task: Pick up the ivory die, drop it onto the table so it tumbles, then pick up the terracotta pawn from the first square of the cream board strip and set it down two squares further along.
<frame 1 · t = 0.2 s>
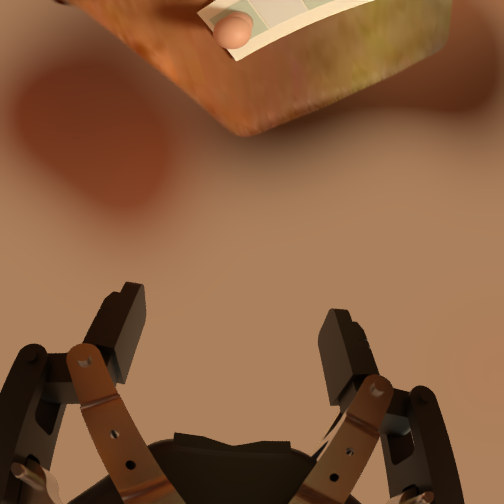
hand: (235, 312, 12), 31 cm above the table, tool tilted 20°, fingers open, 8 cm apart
pawn: (238, 23, 25), point 1 cm above the table, touching board
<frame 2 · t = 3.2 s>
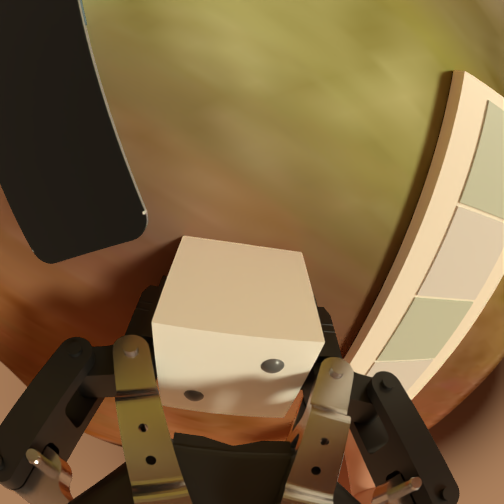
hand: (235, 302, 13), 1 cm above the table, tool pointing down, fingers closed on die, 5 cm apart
smartphone: (38, 101, 9), on the table
board: (421, 322, 15), on the table
pawn: (358, 418, 19), point 1 cm above the table, touching board
die: (234, 290, 14), on the table, touching gripper
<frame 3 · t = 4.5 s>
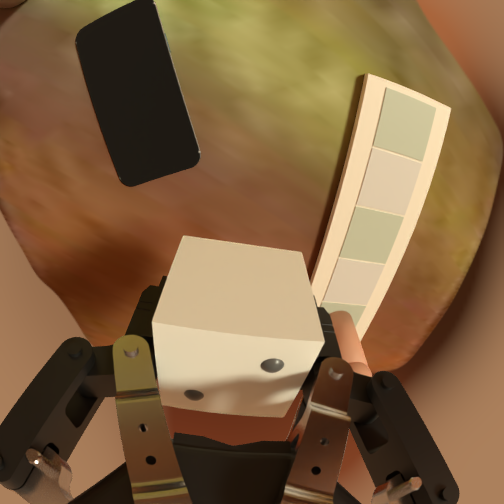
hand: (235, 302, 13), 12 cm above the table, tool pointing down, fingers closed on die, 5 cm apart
smartphone: (135, 90, 19), on the table
board: (368, 232, 25), on the table
pawn: (337, 322, 29), point 1 cm above the table, touching board
die: (234, 290, 14), point 12 cm above the table, touching gripper
when the fingers open (8 cm above the table, at t = 5.6 s): die drops 8 cm, on the table.
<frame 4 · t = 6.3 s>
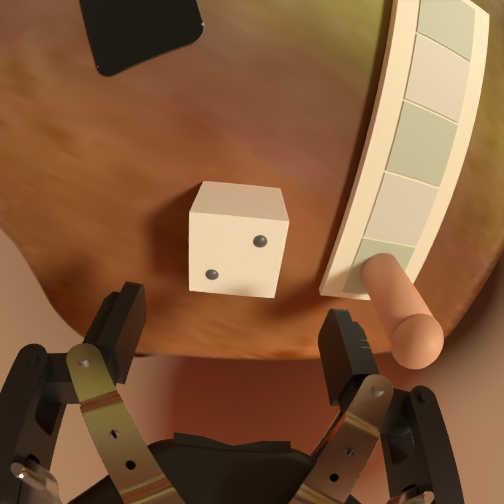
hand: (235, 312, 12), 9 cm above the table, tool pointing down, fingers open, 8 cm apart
board: (418, 143, 17), on the table
pawn: (379, 270, 21), point 1 cm above the table, touching board
die: (238, 218, 20), on the table
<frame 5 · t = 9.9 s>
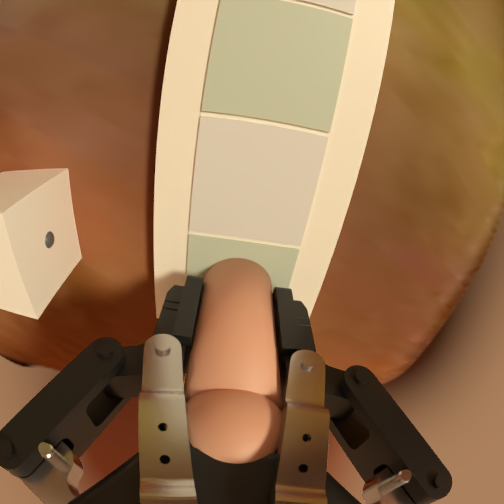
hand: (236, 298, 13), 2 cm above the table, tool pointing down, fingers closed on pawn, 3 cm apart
board: (276, 60, 10), on the table
pawn: (237, 286, 14), point 1 cm above the table, touching board, gripper
die: (39, 213, 13), on the table
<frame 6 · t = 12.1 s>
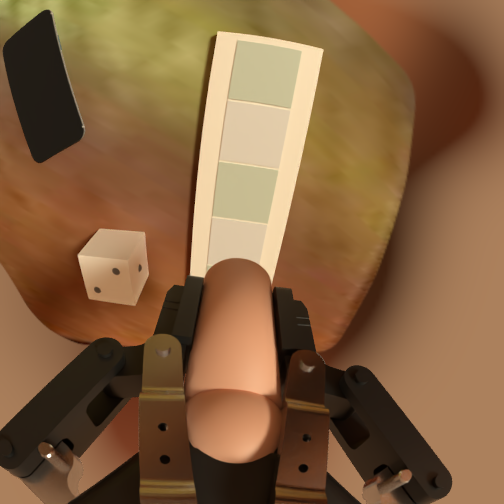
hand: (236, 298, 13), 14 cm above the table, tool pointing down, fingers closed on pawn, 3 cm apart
smartphone: (41, 84, 19), on the table
board: (244, 190, 25), on the table
pawn: (237, 286, 14), point 13 cm above the table, touching gripper
die: (124, 251, 28), on the table
when the fingers open (3 cm above the table, at t = 14.4 s): pawn stays where it is, resting on board.
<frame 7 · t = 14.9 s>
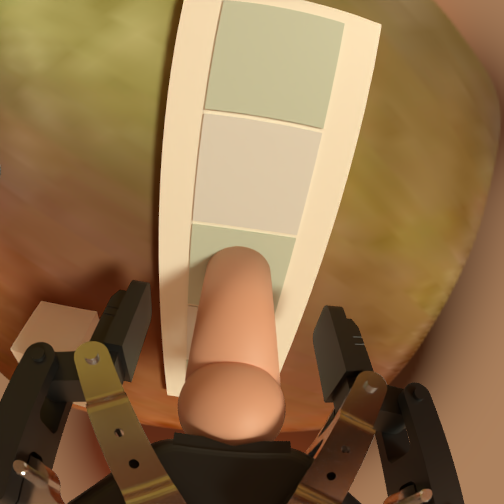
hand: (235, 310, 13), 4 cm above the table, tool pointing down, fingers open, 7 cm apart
board: (237, 264, 16), on the table
pawn: (238, 274, 15), point 1 cm above the table, touching board
die: (76, 330, 19), on the table
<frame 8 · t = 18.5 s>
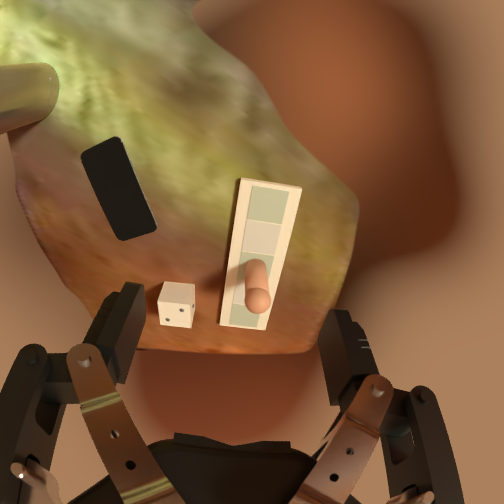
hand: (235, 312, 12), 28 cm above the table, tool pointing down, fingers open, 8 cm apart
smartphone: (119, 189, 39), on the table
board: (254, 264, 45), on the table
pawn: (255, 267, 44), point 1 cm above the table, touching board
die: (180, 294, 48), on the table
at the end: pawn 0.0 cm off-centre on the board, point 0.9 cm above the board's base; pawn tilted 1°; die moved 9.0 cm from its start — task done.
